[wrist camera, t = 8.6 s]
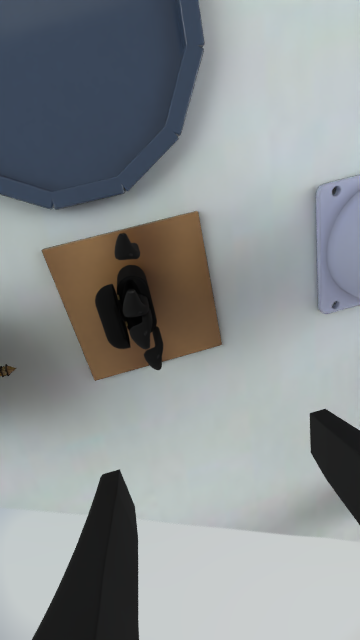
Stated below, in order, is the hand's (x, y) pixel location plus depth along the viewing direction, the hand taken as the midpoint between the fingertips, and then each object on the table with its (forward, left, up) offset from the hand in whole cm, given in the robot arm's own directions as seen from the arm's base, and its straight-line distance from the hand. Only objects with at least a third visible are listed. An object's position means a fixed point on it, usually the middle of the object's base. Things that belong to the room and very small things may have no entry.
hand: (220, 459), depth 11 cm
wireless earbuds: (+2, -4, -9) cm, 10 cm away
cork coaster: (+2, -3, -9) cm, 10 cm away
